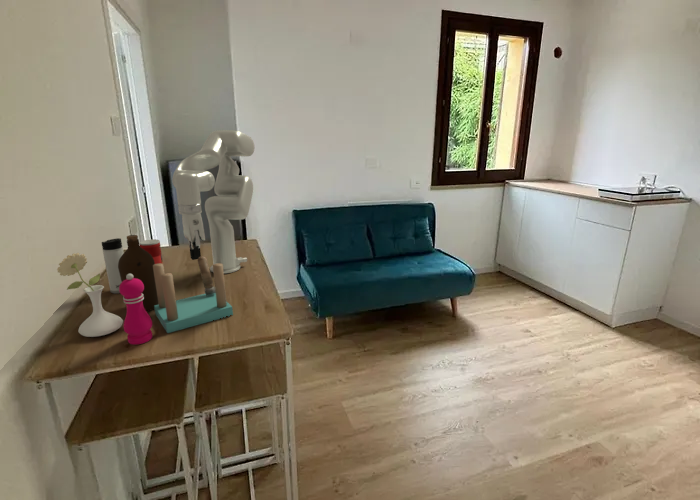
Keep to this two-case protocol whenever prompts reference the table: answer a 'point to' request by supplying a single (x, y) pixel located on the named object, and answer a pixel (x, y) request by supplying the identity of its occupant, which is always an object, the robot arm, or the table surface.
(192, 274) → the table surface
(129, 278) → the pepper mill
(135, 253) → the olive oil
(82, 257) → the flower in vase
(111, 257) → the travel mug
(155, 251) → the canned food
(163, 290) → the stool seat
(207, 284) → the hinged leg
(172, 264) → the table surface
